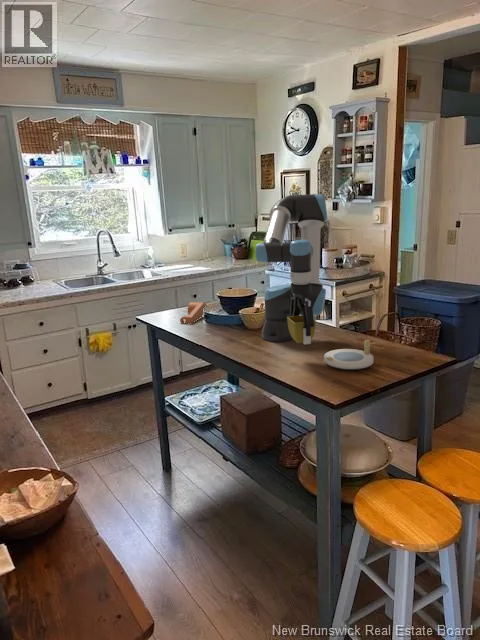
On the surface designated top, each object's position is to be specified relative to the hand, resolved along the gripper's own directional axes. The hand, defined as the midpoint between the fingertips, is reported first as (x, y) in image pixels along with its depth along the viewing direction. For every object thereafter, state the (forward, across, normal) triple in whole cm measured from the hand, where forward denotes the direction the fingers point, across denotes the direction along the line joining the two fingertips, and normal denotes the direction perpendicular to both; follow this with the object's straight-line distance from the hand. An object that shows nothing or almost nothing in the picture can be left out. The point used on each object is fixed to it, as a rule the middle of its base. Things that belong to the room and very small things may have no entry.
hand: (301, 340), depth 183 cm
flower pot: (+1, 0, 0) cm, 1 cm away
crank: (+11, -83, -22) cm, 87 cm away
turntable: (+7, +12, +14) cm, 19 cm away
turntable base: (+8, +12, +14) cm, 20 cm away
